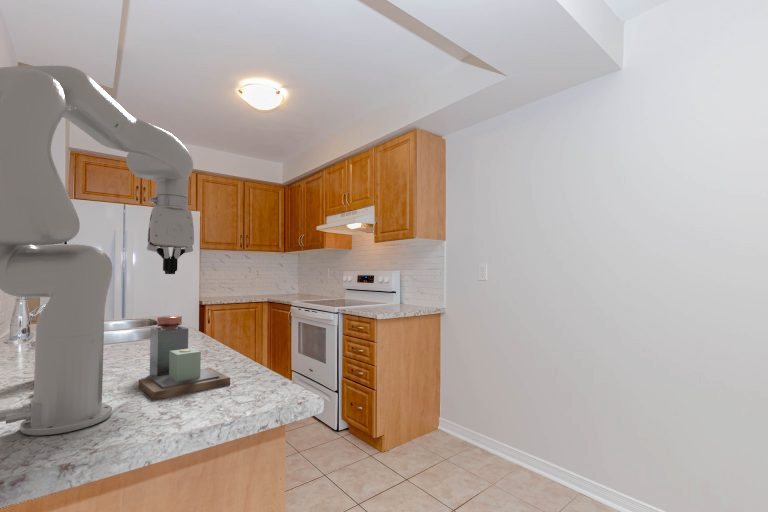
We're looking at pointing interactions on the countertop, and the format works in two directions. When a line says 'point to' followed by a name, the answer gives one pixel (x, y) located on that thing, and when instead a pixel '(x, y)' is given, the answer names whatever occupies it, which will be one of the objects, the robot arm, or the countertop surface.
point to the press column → (165, 348)
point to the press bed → (182, 384)
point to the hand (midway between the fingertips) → (169, 273)
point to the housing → (184, 364)
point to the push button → (169, 322)
